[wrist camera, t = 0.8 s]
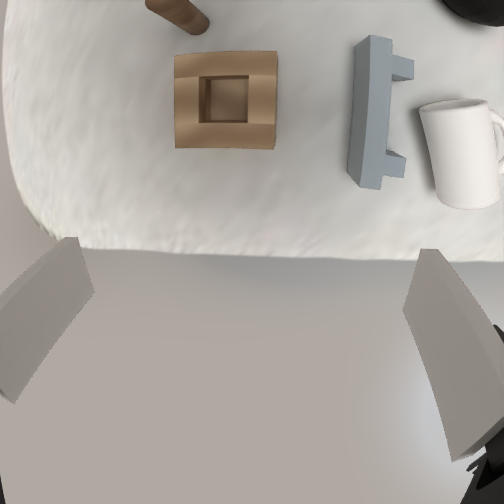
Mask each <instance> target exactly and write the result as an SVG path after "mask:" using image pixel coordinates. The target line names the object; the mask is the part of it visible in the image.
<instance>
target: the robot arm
mask: <svg viewBox="0 0 504 504" xmlns="http://www.w3.org/2000/svg"><path fill="white" fill-rule="evenodd" d="M94 293H95V291H94V288H93V285H92V282H91V279H90V276H89V273H88V270H87V267H86V264H85V261H84V257H83V254H82V251H81V247H80V244H79V240H78V237H65V238H64V239H62V240H61V241H60V242H59V243H57V244H56V245H55V246H54V247H53V248H52V249H50V250H49V251H48V252H47V253H45V254H44V255H43V256H42V257H41V258H40V259H38V260H37V261H36V262H35V263H34V264H33V265H32V266H30V267H29V268H28V269H27V270H26V271H25V272H24V273H23V274H22V275H20V277H18V278H17V279H16V280H15V281H14V282H13V283H12V284H11V285H10V286H9V287H8V288H7V289H6V290H5V291H4V292H3V293H2V294H1V295H0V395H1V396H2V397H3V398H5V399H7V400H8V401H9V402H11V403H13V404H15V402H16V400H17V399H18V397H19V396H20V394H21V393H22V391H23V389H24V388H25V386H26V385H27V383H28V382H29V380H30V379H31V377H32V376H33V374H34V373H35V371H36V370H37V368H38V367H39V365H40V364H41V363H42V361H43V360H44V358H45V357H46V355H47V354H48V353H49V351H50V350H51V349H52V347H53V346H54V344H55V343H56V342H57V340H58V339H59V337H60V336H61V335H62V334H63V332H64V331H65V329H66V328H67V327H68V326H69V324H70V323H71V322H72V320H73V319H74V318H75V317H76V315H77V314H78V313H79V312H80V310H81V309H82V308H83V306H84V305H85V304H86V303H87V301H88V300H89V299H90V298H91V297H92V295H93V294H94ZM403 312H404V315H405V317H406V320H407V322H408V324H409V326H410V329H411V332H412V334H413V337H414V339H415V342H416V345H417V347H418V350H419V352H420V355H421V358H422V361H423V363H424V366H425V369H426V372H427V375H428V377H429V380H430V384H431V387H432V390H433V393H434V396H435V399H436V402H437V406H438V409H439V413H440V416H441V419H442V423H443V427H444V431H445V435H446V438H447V442H448V447H449V451H450V455H451V460H452V462H454V461H457V460H460V459H463V458H466V457H469V456H472V455H473V454H475V453H476V452H477V451H478V450H480V449H481V448H482V447H483V446H484V445H485V448H486V453H485V454H484V455H482V456H481V457H480V458H479V459H477V460H476V461H474V462H473V463H472V464H471V465H469V467H468V468H467V470H466V471H468V472H469V471H470V470H472V469H473V468H474V467H476V466H477V465H478V467H477V469H476V470H475V471H474V472H473V474H474V476H473V478H472V481H471V483H470V485H469V487H468V489H467V492H466V493H465V496H464V497H463V499H462V501H461V503H460V504H504V332H503V331H502V330H501V329H500V328H499V327H498V326H497V325H492V323H491V322H490V320H489V319H488V317H487V315H486V314H485V312H484V311H483V309H482V308H481V306H480V305H479V304H478V302H477V301H476V299H475V298H474V296H473V295H472V293H471V292H470V291H469V290H468V288H467V286H466V285H465V284H464V282H463V281H462V280H461V278H460V277H459V276H458V274H457V273H456V272H455V270H454V269H453V268H452V266H451V265H450V264H449V263H448V261H447V260H446V259H445V257H444V256H443V255H442V254H441V252H440V251H439V250H438V249H421V250H420V253H419V257H418V261H417V265H416V268H415V272H414V275H413V279H412V282H411V286H410V288H409V292H408V295H407V298H406V301H405V304H404V307H403ZM0 504H6V503H5V499H4V494H3V489H2V484H1V478H0Z"/></svg>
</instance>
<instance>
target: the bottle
mask: <svg viewBox="0 0 504 504" xmlns="http://www.w3.org/2000/svg"><path fill="white" fill-rule="evenodd" d="M442 1H443V2H444V3H445V5H446V6H447V7H448V8H449V9H451V10H452V11H453V12H454V13H455V14H457V15H459V16H461V17H463V18H467V19H469V20H471V21H473V22H476V23H479V24H483V25H488V26H495V27H499V26H504V0H442Z"/></svg>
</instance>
